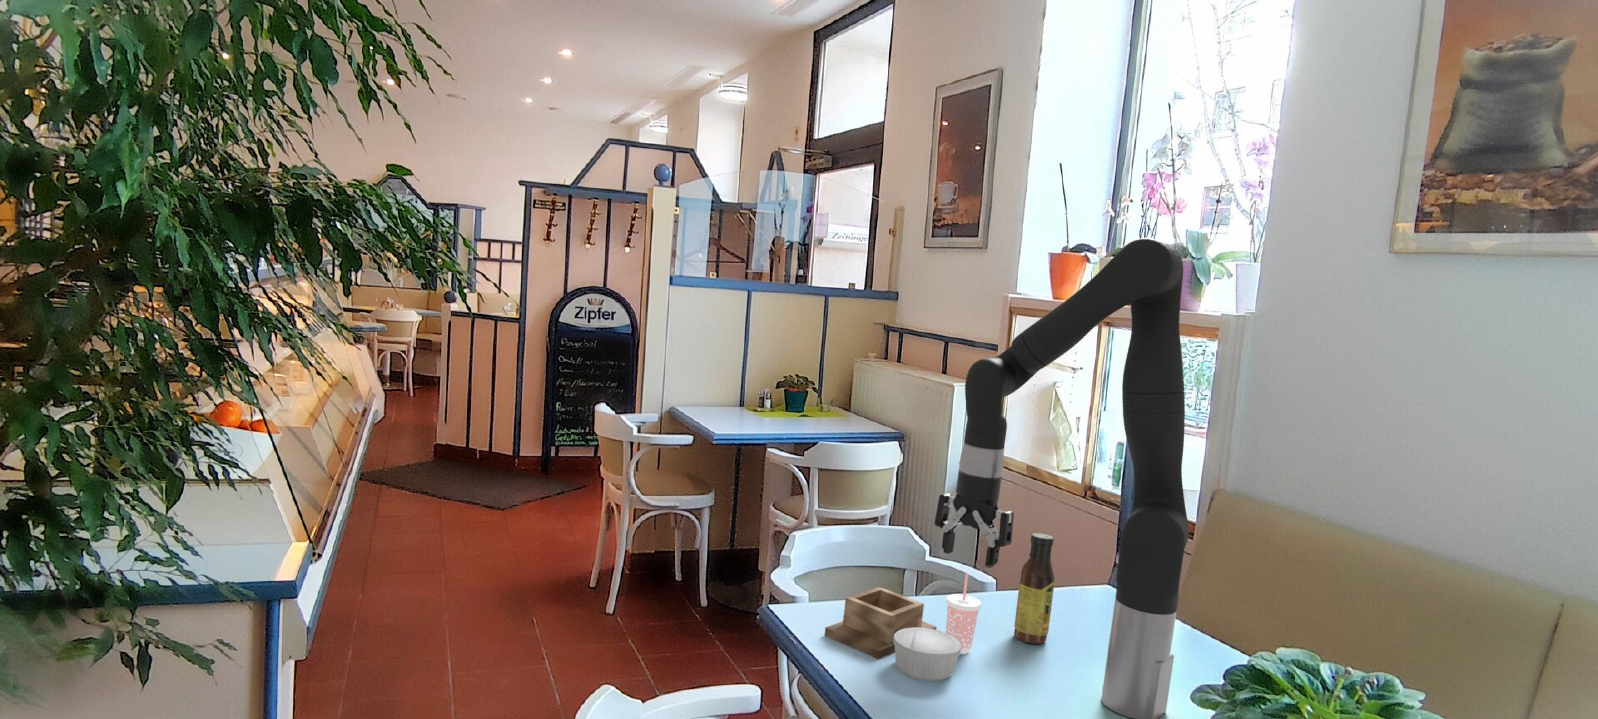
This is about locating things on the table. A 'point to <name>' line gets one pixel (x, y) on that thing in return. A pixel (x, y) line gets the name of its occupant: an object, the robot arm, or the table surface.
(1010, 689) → the table surface
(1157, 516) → the robot arm
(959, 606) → the beverage cup
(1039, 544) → the sauce bottle
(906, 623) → the cup holder
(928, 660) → the ramekin
